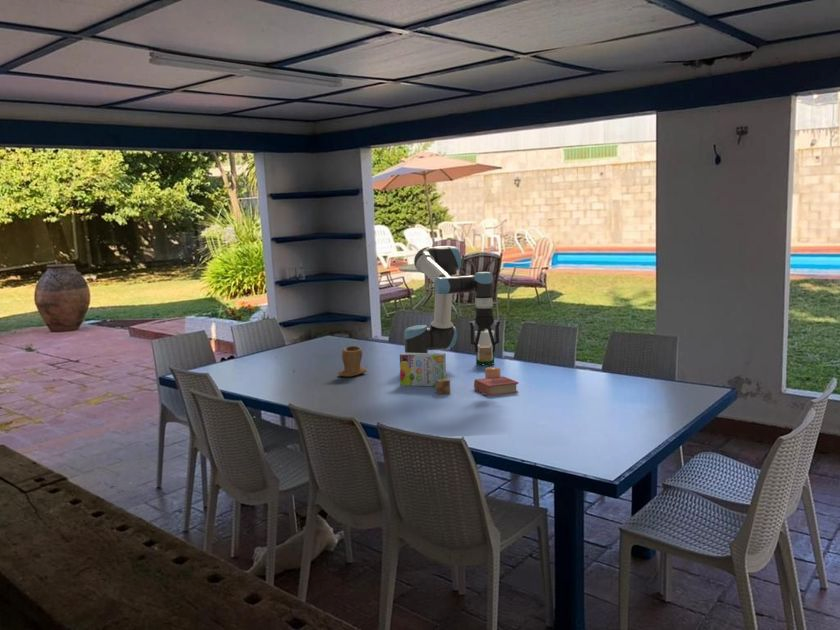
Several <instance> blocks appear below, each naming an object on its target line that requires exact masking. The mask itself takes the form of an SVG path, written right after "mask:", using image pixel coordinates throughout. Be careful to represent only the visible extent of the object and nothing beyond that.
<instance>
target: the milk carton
mask: <svg viewBox="0 0 840 630" xmlns="http://www.w3.org/2000/svg"><path fill="white" fill-rule="evenodd" d="M477 331H478V329H477V330H475V331H474V336H476V335H477ZM491 331H492V334H493V338H494V339H495V330H492V329H491ZM490 344H492V343H491V339H490V336H489V332H488V329H486V328H484V329H482V330H481V334H480V338H479V342H478V345H479V346H490ZM475 353H476V352H475ZM475 360H476V361H475V362H476V363H475V364H484V365H488V366H490V365H489V364H491V365H493V364H492V363H494V364H495V352H493V360H491V361H480V360H478V359H477V353H476V357H475ZM484 365H483V366H484Z"/></svg>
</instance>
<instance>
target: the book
mask: <svg viewBox="0 0 840 630" xmlns="http://www.w3.org/2000/svg"><path fill="white" fill-rule="evenodd" d="M518 384H519V382H518V381H516V380H514V379H512V378H510V377H509V378H508V377H506V376H504V375H502V376H501V375H500V377H492V378H485V377H484V378H476V379H474V382H473V388H474V390H475V391H477V392H479V393H482V394H483V395H485V396H488V397H492V396H501V395H509V394H516V393H517V394H518V393H519V391H518V390H517V385H518Z"/></svg>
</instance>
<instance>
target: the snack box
mask: <svg viewBox="0 0 840 630" xmlns="http://www.w3.org/2000/svg"><path fill="white" fill-rule="evenodd" d="M446 366H447V361H446V353H445V352H444V353H443V352H442V353H441V352H439V353H438V352H437V353H436V352H434V353H433V352H428V353H405V352H402V353H400V354H399V372H400V373H399V376H400V378H399V379H400V386H408V387H410V386H412V387H436V379H447V371H446V370H447V367H446Z"/></svg>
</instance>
